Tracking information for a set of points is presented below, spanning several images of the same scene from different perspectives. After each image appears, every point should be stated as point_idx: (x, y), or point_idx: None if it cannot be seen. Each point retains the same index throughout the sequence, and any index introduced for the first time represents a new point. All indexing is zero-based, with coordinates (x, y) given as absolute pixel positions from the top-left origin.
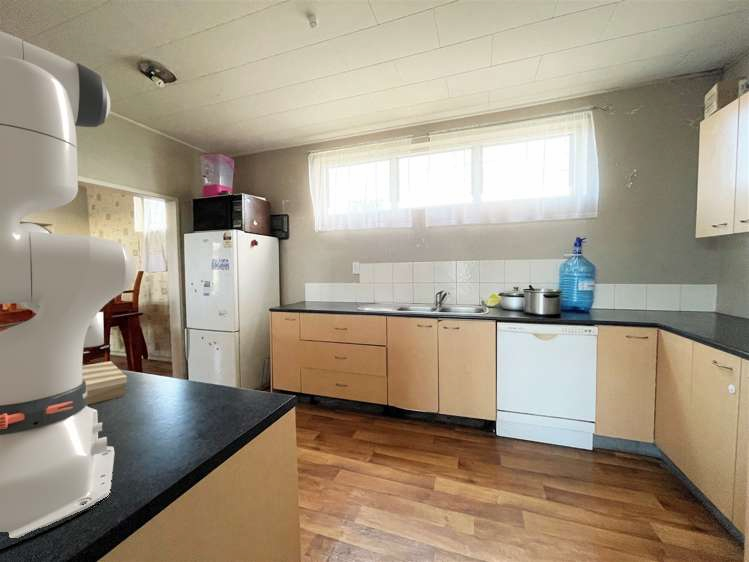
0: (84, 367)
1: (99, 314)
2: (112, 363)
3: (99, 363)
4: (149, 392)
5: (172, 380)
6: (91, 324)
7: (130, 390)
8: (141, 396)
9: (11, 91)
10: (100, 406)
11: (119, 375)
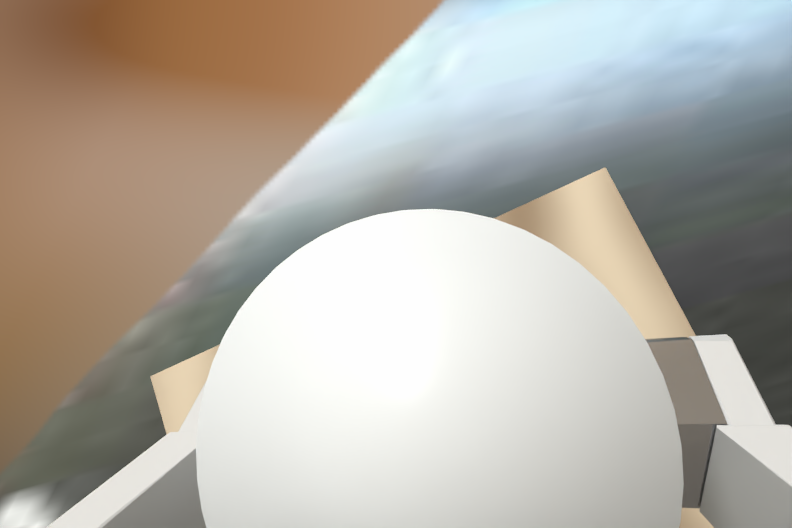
0: None
1: (540, 238)
2: (216, 349)
3: (178, 428)
4: (589, 107)
5: (428, 48)
6: (662, 351)
7: (509, 209)
8: (641, 128)
9: None
10: (721, 280)
11: (549, 221)
